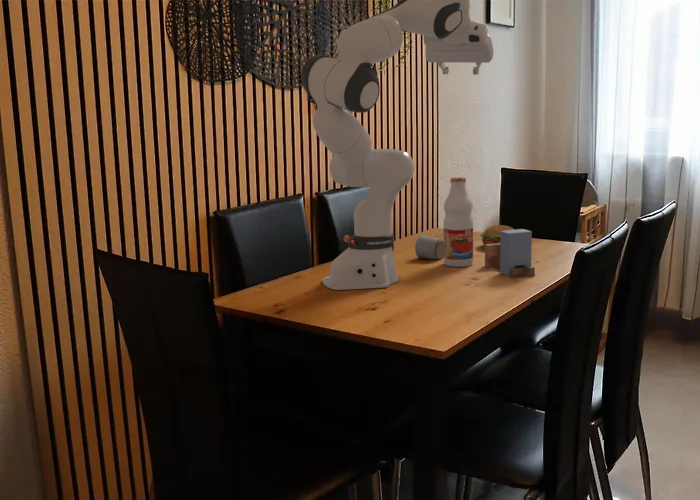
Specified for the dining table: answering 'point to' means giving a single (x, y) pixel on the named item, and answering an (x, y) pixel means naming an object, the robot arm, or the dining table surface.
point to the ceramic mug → (429, 247)
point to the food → (493, 234)
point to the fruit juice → (458, 225)
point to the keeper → (515, 249)
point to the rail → (494, 261)
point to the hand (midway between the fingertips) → (460, 73)
